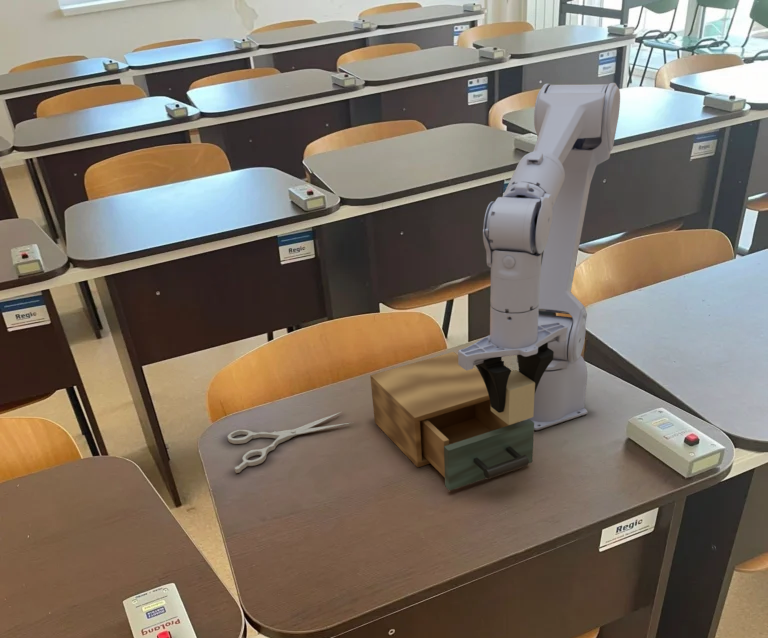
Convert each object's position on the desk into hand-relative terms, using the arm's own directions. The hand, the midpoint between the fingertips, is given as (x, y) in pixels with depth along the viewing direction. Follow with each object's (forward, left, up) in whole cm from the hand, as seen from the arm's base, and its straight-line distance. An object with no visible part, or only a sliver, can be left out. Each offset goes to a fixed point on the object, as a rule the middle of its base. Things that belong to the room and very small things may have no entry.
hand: (511, 404), depth 98 cm
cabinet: (+4, -14, -10) cm, 18 cm away
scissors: (+24, -24, -10) cm, 35 cm away
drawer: (+4, -3, -9) cm, 10 cm away
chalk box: (0, 0, -1) cm, 1 cm away
